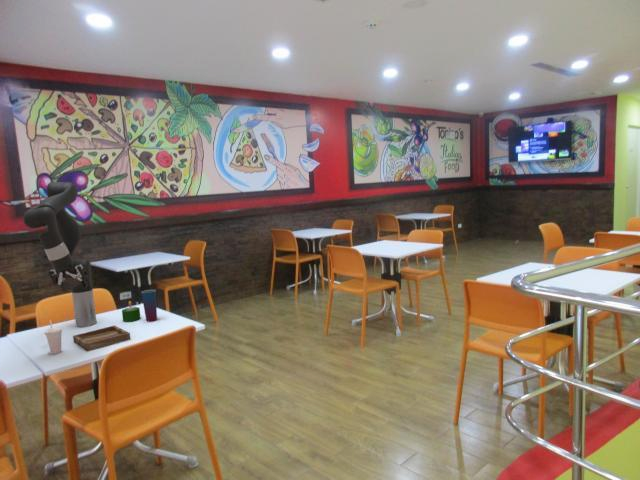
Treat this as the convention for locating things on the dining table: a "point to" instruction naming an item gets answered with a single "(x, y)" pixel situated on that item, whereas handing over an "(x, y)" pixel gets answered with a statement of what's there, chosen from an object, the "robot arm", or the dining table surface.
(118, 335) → the tray
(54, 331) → the smoothie
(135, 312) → the candle
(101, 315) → the dining table surface
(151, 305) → the cup
